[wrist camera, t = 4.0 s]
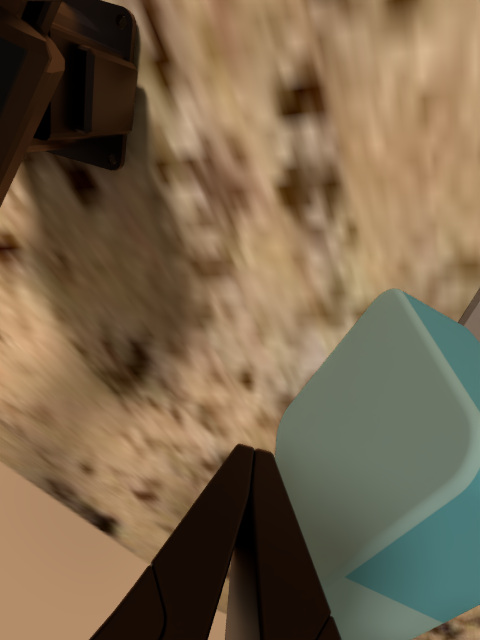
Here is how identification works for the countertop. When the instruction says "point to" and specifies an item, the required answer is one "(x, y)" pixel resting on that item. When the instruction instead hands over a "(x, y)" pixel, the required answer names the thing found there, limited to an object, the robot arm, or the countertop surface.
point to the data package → (390, 471)
